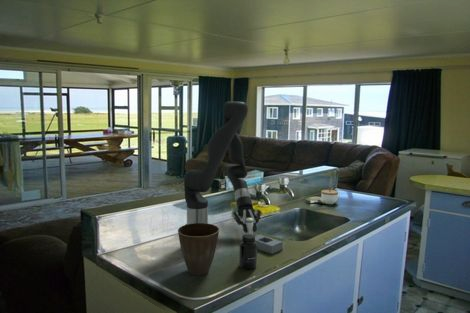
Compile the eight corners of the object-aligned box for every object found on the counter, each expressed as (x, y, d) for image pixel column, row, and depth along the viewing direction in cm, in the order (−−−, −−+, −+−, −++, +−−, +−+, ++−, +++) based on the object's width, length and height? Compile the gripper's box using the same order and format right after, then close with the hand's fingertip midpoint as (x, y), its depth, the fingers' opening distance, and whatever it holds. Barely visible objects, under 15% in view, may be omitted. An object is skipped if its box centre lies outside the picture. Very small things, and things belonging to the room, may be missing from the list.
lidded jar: (320, 200, 241) (320, 187, 240) (336, 201, 240) (337, 187, 239) (321, 204, 231) (322, 190, 230) (338, 205, 229) (339, 191, 228)
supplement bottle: (251, 272, 133) (251, 240, 131) (235, 267, 136) (235, 237, 135) (260, 265, 139) (260, 235, 137) (244, 261, 142) (245, 231, 141)
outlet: (272, 254, 150) (272, 246, 149) (248, 245, 159) (248, 238, 158) (282, 249, 155) (282, 241, 154) (259, 241, 164) (259, 234, 163)
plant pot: (219, 280, 126) (219, 235, 124) (176, 281, 125) (176, 236, 123) (218, 262, 141) (218, 222, 139) (179, 263, 140) (179, 223, 138)
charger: (249, 240, 165) (249, 220, 164) (243, 238, 168) (243, 218, 166) (254, 238, 168) (254, 218, 167) (248, 236, 170) (249, 217, 169)
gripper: (230, 196, 171) (237, 229, 160) (258, 194, 174) (267, 226, 164) (227, 204, 176) (234, 236, 166) (255, 202, 180) (263, 234, 170)
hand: (250, 231), depth 165 cm, fingers closed on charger, 3 cm apart
